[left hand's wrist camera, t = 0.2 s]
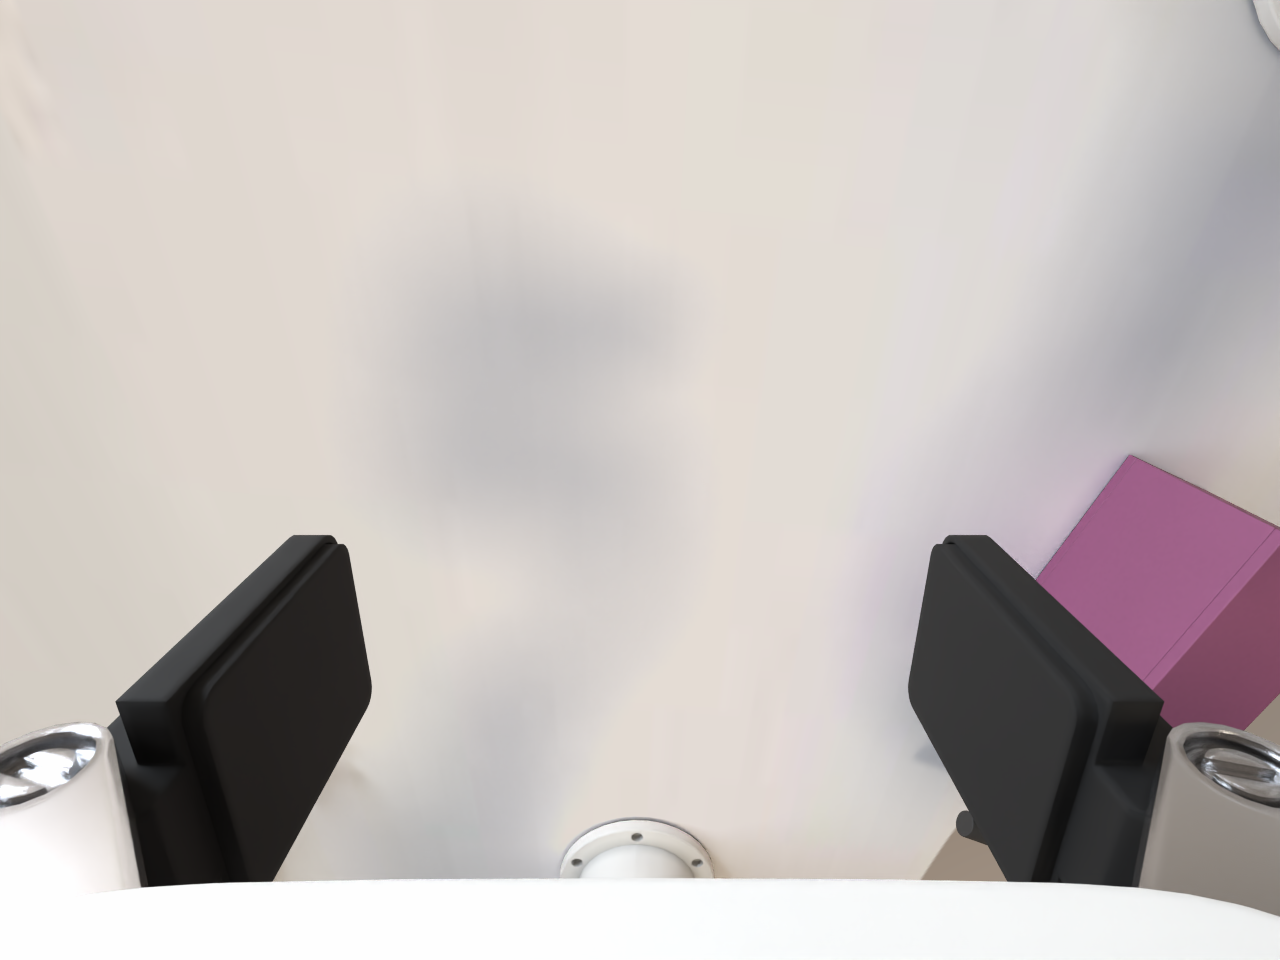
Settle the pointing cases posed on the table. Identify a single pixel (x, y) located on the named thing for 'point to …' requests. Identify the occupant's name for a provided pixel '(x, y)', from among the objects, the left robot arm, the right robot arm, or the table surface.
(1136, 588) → the tall purple box
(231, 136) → the table surface
